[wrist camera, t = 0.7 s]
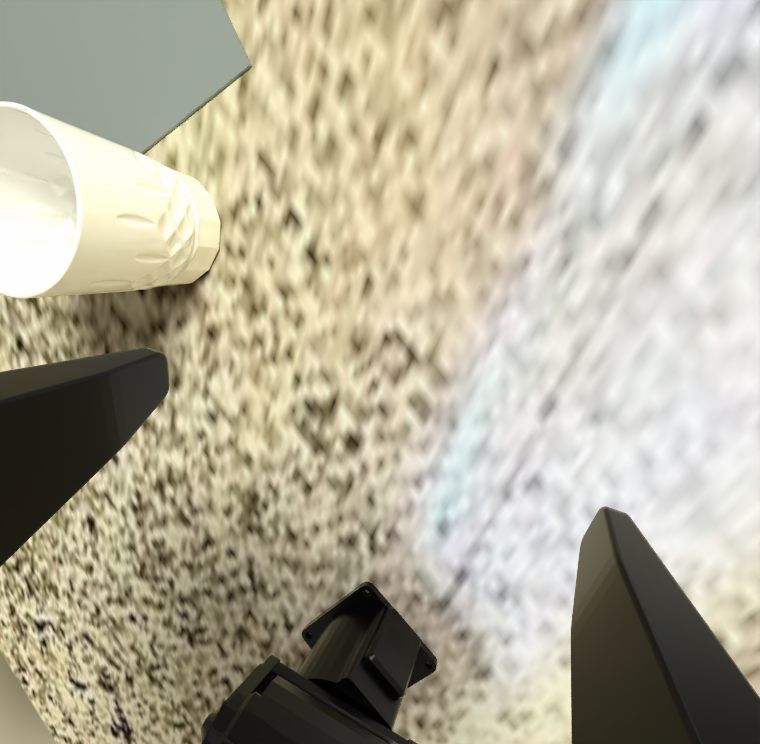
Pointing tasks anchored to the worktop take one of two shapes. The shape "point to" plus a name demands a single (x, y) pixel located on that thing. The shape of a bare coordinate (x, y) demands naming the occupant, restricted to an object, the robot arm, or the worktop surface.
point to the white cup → (94, 213)
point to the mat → (118, 62)
